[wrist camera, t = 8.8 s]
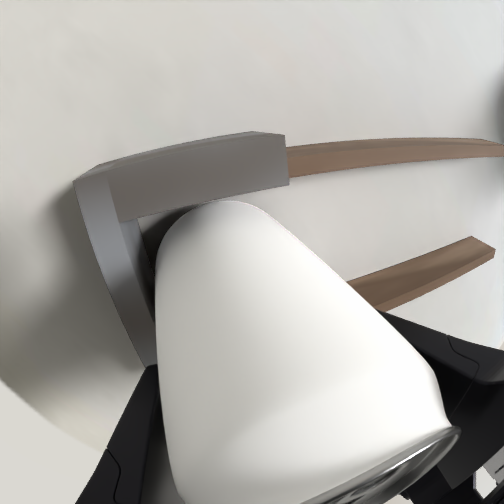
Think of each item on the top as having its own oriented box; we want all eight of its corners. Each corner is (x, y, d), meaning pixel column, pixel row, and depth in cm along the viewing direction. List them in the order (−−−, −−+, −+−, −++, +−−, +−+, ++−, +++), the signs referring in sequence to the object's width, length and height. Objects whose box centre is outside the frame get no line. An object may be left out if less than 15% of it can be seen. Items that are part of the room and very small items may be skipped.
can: (142, 305, 14) (165, 563, 4) (177, 179, 12) (285, 483, 2) (257, 325, 17) (362, 519, 6) (304, 219, 15) (508, 388, 4)
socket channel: (468, 253, 22) (498, 272, 18) (162, 356, 17) (167, 407, 13) (480, 127, 17) (519, 136, 13) (98, 164, 12) (72, 181, 8)
